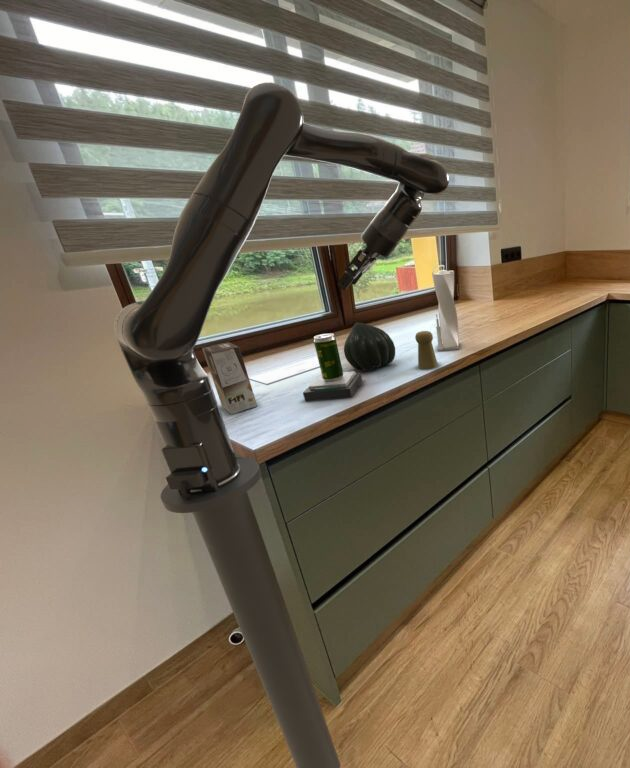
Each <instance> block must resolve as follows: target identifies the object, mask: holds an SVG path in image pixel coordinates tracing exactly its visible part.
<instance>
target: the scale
mask: <svg viewBox="0 0 630 768" xmlns="http://www.w3.org/2000/svg"><path fill="white" fill-rule="evenodd" d="M362 383H363V376H362V373H361V372H359V373H356V371H343V378H342V379H340V380H337V381H331V382H327V381H325V380H324V379H323V378H322V374H320V375H319V376H318V377H316V379H315V380H314V381H313V382H312V383H311V384H310V385H309V386H308V387H307V388H306V389H305V390H304V391H303V392H302V395H303V398H304V401H305V402H314V401H324V400H325V401H326V400H339V399H349V398H353V396H354V395H355V393H356V392H357V390H358V389H359V387H360V386H361V384H362Z"/></svg>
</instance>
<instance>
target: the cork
mask: <svg viewBox="0 0 630 768" xmlns="http://www.w3.org/2000/svg"><path fill="white" fill-rule="evenodd" d="M414 338H415V341H416V343H417V357H418V358H417V363H418V364H417V367H418V369H419V370H431V369H435V368H437V367H439V366H438V365H439V364H438V360H437V357H436V352H435V350H434V345H433V342H432V341H433V339H434V336H433V333H432V332H431V331H429V330H421V331H418V332H416V333H415V337H414Z"/></svg>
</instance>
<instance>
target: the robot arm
mask: <svg viewBox="0 0 630 768" xmlns="http://www.w3.org/2000/svg"><path fill="white" fill-rule="evenodd" d="M304 121H305V120H304V112H303V109H302V106H301V104H300V101H298V98H297V97H296V96H295V94H294V93H293V92H292V91H291V90H290V89H289V88H287V87H285V86H284V85H282V84H279V83H277V82H271V81H270V82H269V81H267V82H261V83H258V84H256V85H254V86H253V87H252V88H250V89H248V91H247V93H246V94H245V97H244V100H243V103H242V107H241V111H240V113H239V116H238V118H237V122H236V124H235V126H234V129H233V132H232V133H231V135H230V137H229V139H228V140H227V143H226V144H225V146H224V147H223V149H222V150H221V151H220V153H218V155H217V156H216V158H215V159H214V160H213V162H212V163H211V165H210V166H209V167H208V168H207V170H206V172H205V173H204V174H203V176H202V178H201V179H200V181H199V182H198V184H197V185H196V187H195V188H194V190H193V192H192V194H191V195H190V196H189V198H188V200H187V202H186V203H185V206H184V207H183V209H182V211H181V213H180V215H179V217H178V219H177V222H176V225H175V229H174V232H173V237H172V242H171V248H170V253H169V258H168V261H167V263H166V266H165V269H164V271H163V273H162V275H161V276H160V278H159V279H158V281H157V282H156V284H155V285H154V287H153V289H152V290H151V292H150V293H149V294H148V296H147V297H146V298H145V300H140V301H136V302H132V303H130V304H128V305H126V306H124V307H123V308H122V309H121V310H120V311H119V312H118V313H117V315H116V316H115V319H114V324H113V330H114V335H115V338H116V341H117V343H118V346H119V348H120V350H121V353H122V355H123V357H124V360H125V362H126V365H127V366H128V368H129V371H130V373H131V376H132V378H133V380H134V382H135V384H136V386H137V387H138V389H139V390H140V392H141V393H142V395H143V397H144V399H145V402H146V404H147V407H148V409H149V412H150V414H151V417H152V419H153V422H154V424H155V427H156V429H157V431H158V434H159V436H160V439H161V441H162V444H163V445H164V446H163V447H162V448H161V453H162V456H163V458H164V460H165V463H166V466H167V467H168V470H169V474H168V475H167V476H166V477H165V479H166V483H167V485H169V487H170V489H171V490H173V489H178V492H179V494H180V495H182V496H183V497H185V498H186V499H190V498H191V495H190V494H200V493H210V492H216V491H217V490H218V489H219V488H221V487H223V486H225V485H227V484H228V483H230V482H232V481H233V480H234V479H236V478H237V477H238V476H239V474H240V472H241V469H240V466H239V464H238V462H237V459H236V453H235V451H234V448H233V445H232V441H231V439H230V435H229V433H228V429H227V427H226V424H225V421H224V419H223V415H222V413H221V410H220V407H219V404H218V400H217V398H216V394H215V392H214V389H213V385H212V384H211V381H210V378H209V376H208V374H207V372H206V371H205V369H204V368H203V367H202V366H201V364H200V362H199V361H198V358H197V356H196V354H195V351H194V347H195V346H196V344H197V343H198V341H199V338H200V335H201V333H202V330H203V327H204V324H205V322H206V319H207V317H208V313H209V311H210V308H211V306H212V303H213V300H214V298H215V296H216V293H217V292H218V290H219V288H220V287H221V284H222V282H223V281H224V279H225V278H226V276H227V274H228V272H229V271H230V269H231V267H232V265H233V263H234V262H235V260H236V259H237V256H238V254H239V252H240V251H241V249H242V247H243V246H244V244H245V242H246V240H247V238H248V237H249V235H250V233H251V231H252V229H253V227H254V225H255V222H256V220H257V218H258V216H259V213H260V210H261V208H262V205H263V203H264V200H265V198H266V195H267V193H268V192H267V191H268V189H269V186H270V182H271V180H272V178H273V176H274V172H275V170H276V169H277V167H278V166H279V164H280V163H281V161H282V159H283V157H285V156H286V157H292V158H300V159H307V160H313V161H318V162H324V163H328V164H333V165H337V166H342V167H345V168H350V169H354V170H357V171H360V172H364V173H367V174H370V175H373V176H377V177H380V178H383V179H387V180H391V181H394V182H397V184H398V185H397V187H396V189H395V192H393V194H392V195H391V196H390V198H389V199H387V201H386V203H385V204H384V206H383V207H382V208H381V209H380V210H379V211H378V212H377V213H376V214H375V216H374V217H373V219H372V220H371V221H370V223H369V224H368V225H367V227H366V228H365V229H364V231H363V232H362V234H361V235H360V239H361V241H362V242H363V243H364V244H365V245H366V246H365V247H364V248H363V247H362V248H360V249H359V250H358V251H357V253H356V254H355V255H354V257H353V258H352V259H351V261H350V262H349V263H348V265H347V266H345V269H344V272H345V273H344V274H343V275H342V276H341V278H340V279H339V280H338V282H337V284H336V285H337V286H338V287H339V288H340V289H341V290H342V291H345V290H347V289H348V288H349V286H350V285H351V284H352V285H353V286H355V285H356V284H357V283H358V282H359V281H360V279H361V278H362V276H363V275H365V274H366V273H367V272H368V271H369V270H370V269H371V268H372V267H373V265H374V264H375V263H376V262H377V261H378V257H383V258H386V259H387V258H389V257H390V255H391V254H392V253H393V251H394V250H395V249H396V248H397V246H398V245H399V244H400V243H401V242H402V240H403V239H404V237H405V236H406V235H407V232H408V230H409V229H410V227H411V226H412V225H413V223H414V222H415V221H416V219H417V218H418V217H419V215H420V214H421V212H422V210H423V206H422V200H423V198H424V196H425V195H428V196H429V195H430V196H437V195H440V194H442V193H444V192H445V191H446V189H447V188H448V187H449V183H450V176H449V173H448V169H446V167H445V165H443V164H442V163H441V162H440V161H439V160H437V159H436V158H435V157H434V156H433V155H431V154H428V153H419V154H414V153H411V152H409V151H408V150H406V149H405V148H404V147H402V146H400V145H398V144H395V143H393V142H390V141H387V140H384V139H382V138H379V137H376V136H373V135H369V134H365V133H359V132H347V131H339V130H331V129H325V128H322V127H317V126H314V125H311V124H308V123H307V122H304ZM352 268H354V269H352Z"/></svg>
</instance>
